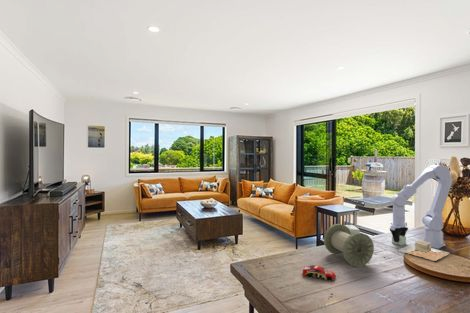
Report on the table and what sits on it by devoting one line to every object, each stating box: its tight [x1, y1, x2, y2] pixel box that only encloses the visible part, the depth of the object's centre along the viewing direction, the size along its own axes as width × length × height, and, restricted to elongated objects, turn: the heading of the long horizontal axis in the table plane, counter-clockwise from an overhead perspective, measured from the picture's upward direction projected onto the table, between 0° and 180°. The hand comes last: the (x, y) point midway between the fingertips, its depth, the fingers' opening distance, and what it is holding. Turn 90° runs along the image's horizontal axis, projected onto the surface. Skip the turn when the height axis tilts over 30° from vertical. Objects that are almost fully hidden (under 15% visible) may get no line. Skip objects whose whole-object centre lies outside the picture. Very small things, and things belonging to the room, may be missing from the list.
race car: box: [302, 264, 337, 281], centre depth 110 cm, size 13×5×4 cm, turn 66°
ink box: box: [344, 224, 361, 235], centre depth 140 cm, size 9×5×12 cm, turn 179°
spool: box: [323, 223, 375, 268], centre depth 127 cm, size 16×15×15 cm
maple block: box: [414, 240, 432, 253], centre depth 134 cm, size 5×5×4 cm
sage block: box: [391, 235, 407, 246], centre depth 148 cm, size 5×5×4 cm
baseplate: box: [398, 243, 450, 255], centre depth 134 cm, size 16×16×1 cm
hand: (398, 240), depth 148 cm, fingers closed on sage block, 5 cm apart
